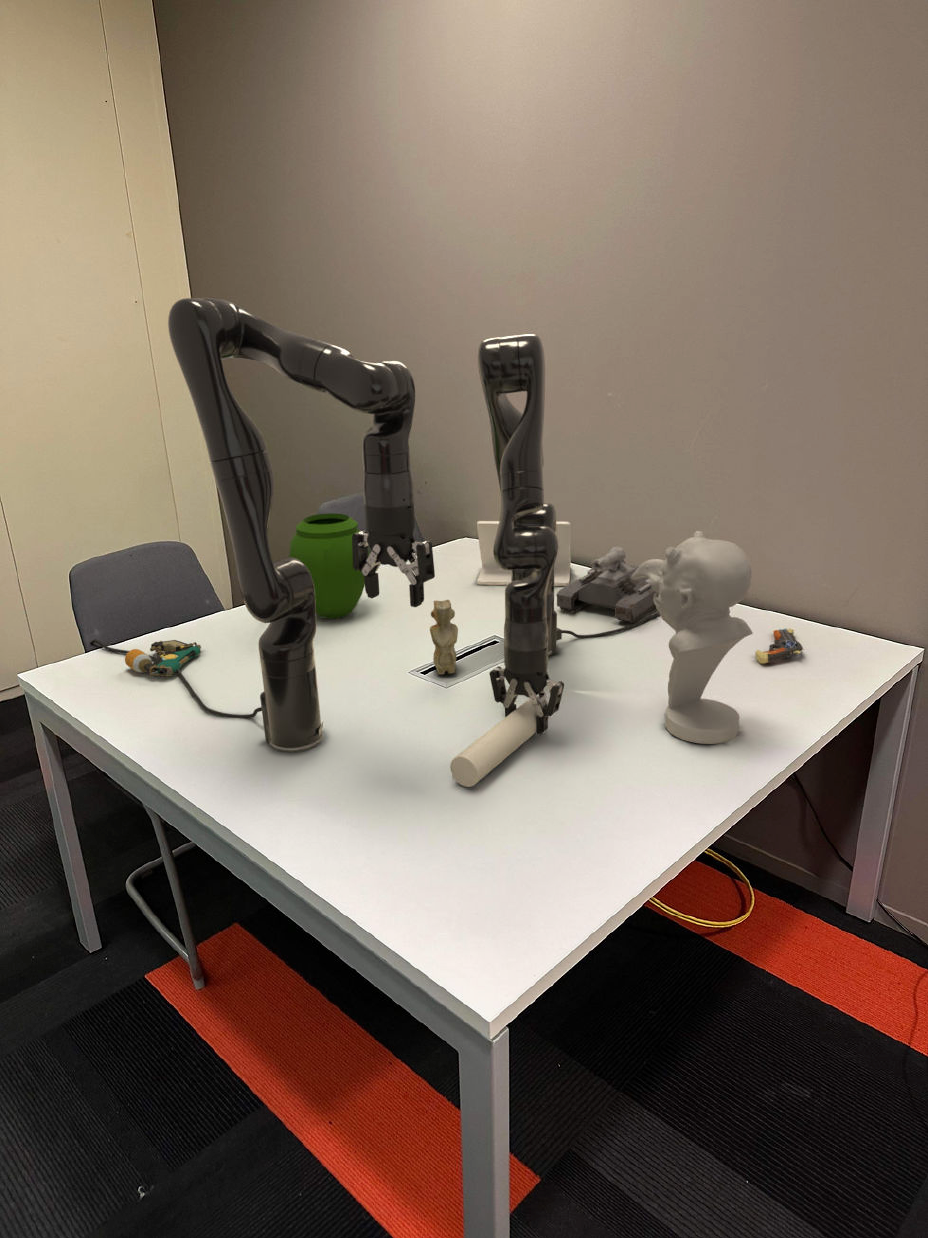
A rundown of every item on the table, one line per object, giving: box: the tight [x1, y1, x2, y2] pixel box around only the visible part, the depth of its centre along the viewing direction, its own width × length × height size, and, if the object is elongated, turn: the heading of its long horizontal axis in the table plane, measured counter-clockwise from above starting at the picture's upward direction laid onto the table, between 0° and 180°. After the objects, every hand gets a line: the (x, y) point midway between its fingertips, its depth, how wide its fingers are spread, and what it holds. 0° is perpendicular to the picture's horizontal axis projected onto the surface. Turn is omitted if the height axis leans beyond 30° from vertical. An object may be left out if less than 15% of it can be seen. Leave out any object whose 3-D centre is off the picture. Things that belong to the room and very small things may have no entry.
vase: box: [288, 512, 370, 620], centre depth 209 cm, size 20×20×24 cm
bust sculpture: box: [631, 530, 754, 745], centre depth 151 cm, size 16×24×35 cm, turn 28°
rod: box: [449, 698, 550, 788], centre depth 145 cm, size 24×5×5 cm, turn 147°
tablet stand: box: [476, 520, 572, 587], centre depth 236 cm, size 18×25×17 cm
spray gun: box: [124, 639, 202, 677], centre depth 186 cm, size 4×17×15 cm
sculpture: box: [429, 599, 459, 675], centre depth 177 cm, size 6×7×15 cm
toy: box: [556, 546, 656, 624], centre depth 212 cm, size 25×20×15 cm
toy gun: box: [754, 628, 805, 664], centre depth 185 cm, size 3×19×10 cm
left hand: (394, 601), depth 134 cm, fingers open, 8 cm apart
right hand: (526, 728), depth 152 cm, fingers closed on rod, 5 cm apart
